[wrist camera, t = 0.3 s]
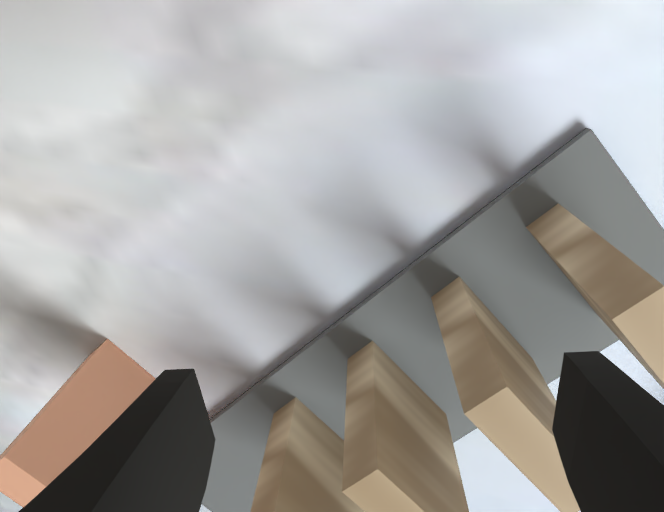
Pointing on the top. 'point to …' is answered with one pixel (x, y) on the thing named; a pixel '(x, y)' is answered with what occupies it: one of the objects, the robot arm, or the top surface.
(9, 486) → the domino
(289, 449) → the light brown flat block
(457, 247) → the slate mat
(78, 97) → the top surface
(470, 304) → the domino
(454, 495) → the domino
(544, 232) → the domino
